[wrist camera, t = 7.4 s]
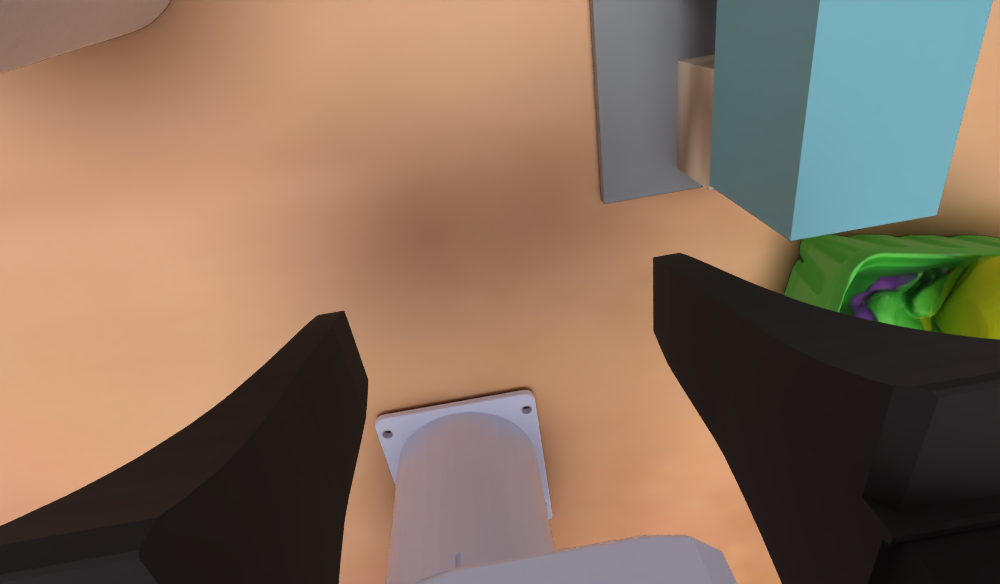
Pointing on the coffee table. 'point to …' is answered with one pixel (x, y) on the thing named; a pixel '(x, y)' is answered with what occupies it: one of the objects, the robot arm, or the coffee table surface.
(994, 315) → the fruit basket
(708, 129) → the pillar near arm
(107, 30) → the coffee cup
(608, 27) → the build plate
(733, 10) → the lintel
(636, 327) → the coffee table surface
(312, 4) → the coffee table surface
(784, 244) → the coffee table surface
